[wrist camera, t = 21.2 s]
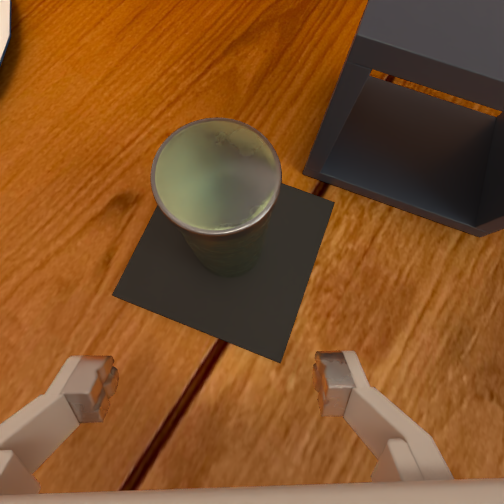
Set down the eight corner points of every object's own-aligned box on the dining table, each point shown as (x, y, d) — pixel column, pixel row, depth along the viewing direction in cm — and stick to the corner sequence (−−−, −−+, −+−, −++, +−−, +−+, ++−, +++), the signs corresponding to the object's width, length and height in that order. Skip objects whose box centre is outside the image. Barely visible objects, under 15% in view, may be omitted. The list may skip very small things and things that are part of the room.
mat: (333, 204, 22) (334, 202, 21) (279, 362, 19) (280, 363, 18) (187, 151, 22) (186, 148, 22) (114, 295, 19) (111, 295, 19)
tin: (273, 227, 20) (299, 141, 11) (249, 290, 19) (254, 255, 10) (211, 204, 21) (183, 100, 11) (184, 264, 20) (126, 206, 10)
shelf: (500, 130, 24) (712, -31, 13) (479, 237, 21) (719, 150, 10) (339, 76, 24) (412, -115, 14) (302, 174, 22) (356, 34, 11)
